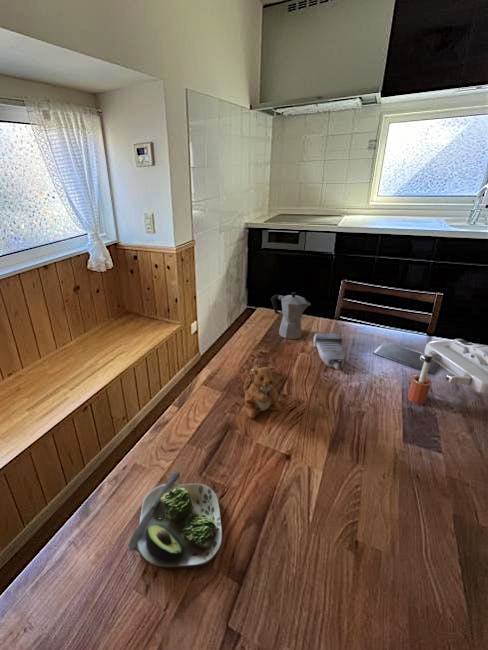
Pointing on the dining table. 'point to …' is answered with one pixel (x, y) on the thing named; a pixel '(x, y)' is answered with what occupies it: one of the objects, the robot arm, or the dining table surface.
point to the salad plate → (178, 526)
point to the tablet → (404, 356)
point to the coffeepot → (290, 314)
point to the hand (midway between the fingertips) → (434, 368)
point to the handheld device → (330, 349)
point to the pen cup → (419, 390)
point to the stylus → (425, 368)
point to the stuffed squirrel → (260, 391)
